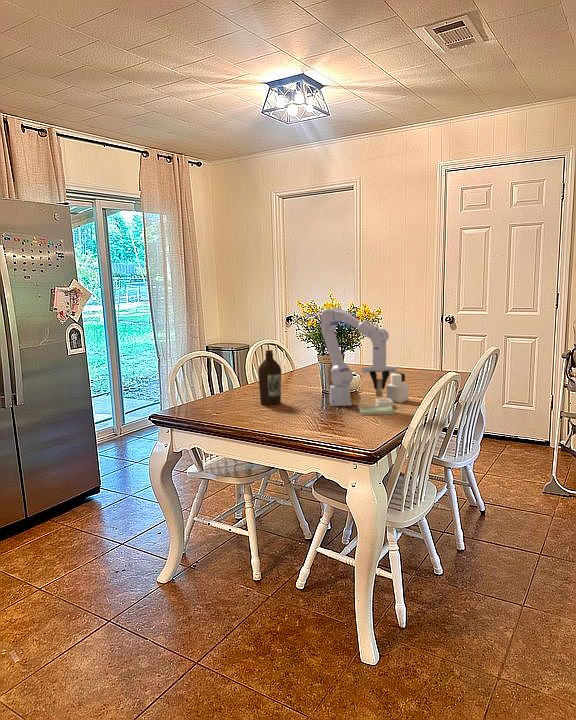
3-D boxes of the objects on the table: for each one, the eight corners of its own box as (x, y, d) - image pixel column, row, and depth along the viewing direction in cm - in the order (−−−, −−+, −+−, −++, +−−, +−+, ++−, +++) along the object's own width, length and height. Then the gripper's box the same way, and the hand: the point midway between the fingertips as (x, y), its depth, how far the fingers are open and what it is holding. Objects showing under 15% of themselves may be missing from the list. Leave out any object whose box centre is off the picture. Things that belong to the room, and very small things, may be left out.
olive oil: (255, 403, 252) (253, 350, 248) (274, 399, 258) (272, 348, 254) (266, 407, 243) (265, 352, 239) (286, 404, 249) (285, 350, 245)
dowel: (376, 396, 233) (376, 379, 232) (375, 395, 236) (375, 378, 234) (383, 396, 233) (383, 379, 232) (382, 395, 235) (382, 378, 234)
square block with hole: (377, 408, 237) (377, 402, 237) (375, 404, 244) (375, 398, 243) (392, 407, 237) (392, 401, 237) (389, 404, 244) (389, 398, 243)
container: (393, 398, 256) (393, 371, 254) (408, 400, 252) (409, 372, 250) (386, 401, 250) (386, 373, 248) (401, 403, 246) (401, 375, 244)
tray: (361, 414, 227) (361, 411, 226) (358, 409, 237) (358, 406, 236) (394, 414, 227) (394, 410, 227) (390, 408, 237) (390, 405, 236)
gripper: (364, 359, 227) (364, 390, 229) (398, 358, 228) (397, 389, 230) (361, 356, 234) (361, 387, 236) (394, 356, 235) (394, 386, 237)
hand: (379, 388), depth 233 cm, fingers closed on dowel, 3 cm apart
